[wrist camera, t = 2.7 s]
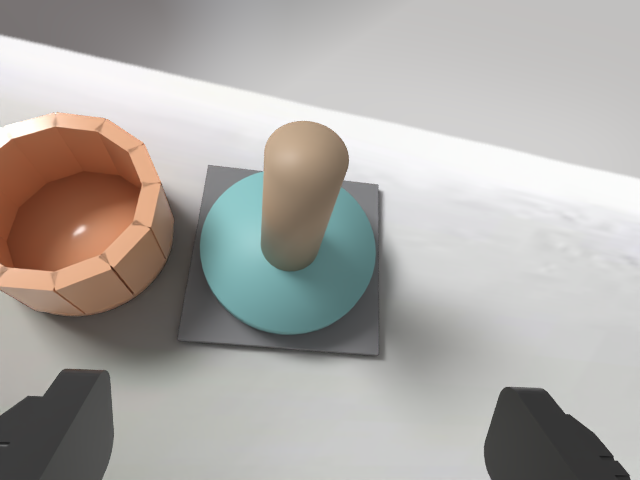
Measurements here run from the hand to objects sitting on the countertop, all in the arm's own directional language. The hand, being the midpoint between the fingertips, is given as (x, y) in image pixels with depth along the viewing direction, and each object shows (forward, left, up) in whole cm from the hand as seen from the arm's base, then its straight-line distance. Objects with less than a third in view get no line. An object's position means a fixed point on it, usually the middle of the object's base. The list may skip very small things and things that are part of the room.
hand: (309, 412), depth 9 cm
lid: (+5, +7, -13) cm, 16 cm away
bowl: (-3, +14, -13) cm, 19 cm away
